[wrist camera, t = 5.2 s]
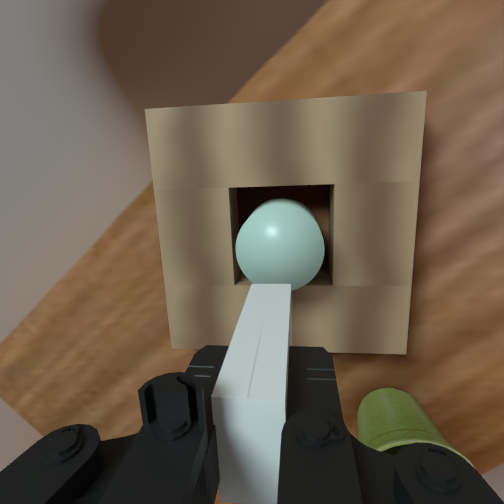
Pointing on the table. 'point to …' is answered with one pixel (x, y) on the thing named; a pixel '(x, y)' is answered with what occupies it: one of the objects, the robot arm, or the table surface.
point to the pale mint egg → (280, 244)
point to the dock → (287, 174)
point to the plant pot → (396, 422)
